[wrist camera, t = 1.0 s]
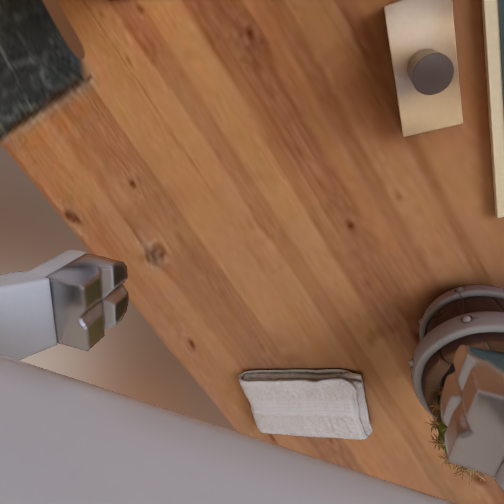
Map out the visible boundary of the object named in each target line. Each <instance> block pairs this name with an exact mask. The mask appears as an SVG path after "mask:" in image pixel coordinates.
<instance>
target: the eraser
mask: <svg viewBox="0 0 504 504" xmlns="http://www.w3.org/2000/svg"><path fill="white" fill-rule="evenodd" d="M383 9H384V15H385V22H386V28H387V35H388V42H389V48H390V55H391V61H392V68H393V75H394V81H395V88H396V95H397V101H398V108H399V114H400V121H401V128H402V133H403V137H407V136H411V135H416V134H420V133H424V132H429V131H433V130H437V129H441V128H446V127H450V126H454V125H459V124H462V123H463V117H462V106H461V95H460V84H459V73H458V62H457V51H456V40H455V29H454V18H453V7H452V0H399V1H396V2H394V3H391V4H388V5H385V6H384V7H383Z"/></svg>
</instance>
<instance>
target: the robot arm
mask: <svg viewBox="0 0 504 504" xmlns="http://www.w3.org/2000/svg"><path fill="white" fill-rule="evenodd" d="M127 278H128V274H127V266H126V265H125V264H124V262H122V261H118V260H114V259H110V258H107V257H103V256H99V255H95V254H91V253H88V252H84V251H79V250H74V249H69V250H67V251H65V252H63V253H61V254H60V255H58V256H56V257H54V258H52V259H50V260H48V261H46V262H45V263H43V264H41V265H39V266H37V267H35V268H33V269H31V270H29V271H28V272H22V271H18V272H12V273H6V274H1V275H0V504H456V503H453V502H450V501H447V500H444V499H441V498H438V497H434V496H431V495H428V494H425V493H422V492H419V491H416V490H413V489H410V488H407V487H404V486H401V485H398V484H395V483H392V482H389V481H386V480H382V479H379V478H376V477H373V476H370V475H367V474H364V473H361V472H358V471H355V470H352V469H349V468H346V467H343V466H340V465H337V464H334V463H330V462H327V461H324V460H321V459H318V458H315V457H312V456H309V455H306V454H303V453H300V452H297V451H294V450H291V449H288V448H285V447H282V446H278V445H275V444H272V443H269V442H266V441H263V440H260V439H257V438H254V437H251V436H248V435H245V434H242V433H239V432H236V431H233V430H229V429H226V428H223V427H220V426H217V425H214V424H211V423H208V422H205V421H202V420H199V419H195V418H193V417H190V416H187V415H184V414H180V413H178V412H174V411H171V410H168V409H165V408H162V407H159V406H156V405H153V404H150V403H147V402H144V401H141V400H138V399H135V398H132V397H129V396H126V395H123V394H120V393H116V392H113V391H110V390H107V389H104V388H101V387H98V386H95V385H92V384H89V383H86V382H83V381H80V380H77V379H74V378H71V377H68V376H65V375H62V374H58V373H55V372H52V371H49V370H46V369H43V368H40V367H37V366H34V365H31V364H28V363H25V362H22V361H19V360H21V359H24V358H26V357H28V356H31V355H33V354H36V353H38V352H41V351H43V350H45V349H47V348H50V347H52V346H55V345H57V343H59V344H63V345H67V346H70V347H74V348H78V349H81V350H85V351H88V350H89V349H90V348H92V347H93V346H94V345H95V344H96V343H97V342H98V341H99V340H100V339H101V338H103V337H104V330H105V329H107V328H111V327H114V326H116V325H117V324H118V323H119V322H120V321H121V320H122V318H123V316H124V314H125V313H126V310H127V306H128V301H129V300H128V292H127V290H126V288H125V287H124V285H123V283H124V282H125V281H126V280H127ZM453 362H454V367H455V372H453V373H451V374H450V375H448V376H447V377H446V380H445V383H444V386H443V389H442V395H441V405H440V410H441V418H442V420H443V421H444V422H445V423H446V425H447V426H448V427H447V430H446V432H445V435H444V438H445V444H446V450H447V456H448V462H451V463H454V464H457V465H460V466H463V467H466V468H469V469H472V470H475V471H478V472H481V473H484V474H487V475H490V476H493V477H495V481H496V482H497V483H498V485H499V486H500V487H501V489H502V490H503V491H504V354H503V353H498V352H494V351H489V350H485V349H480V348H476V347H471V346H467V345H460V346H459V348H458V349H457V351H456V354H455V356H454V359H453Z"/></svg>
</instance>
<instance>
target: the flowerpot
mask: <svg viewBox="0 0 504 504" xmlns="http://www.w3.org/2000/svg"><path fill="white" fill-rule="evenodd" d="M418 322H419V324H420V328H419V337H420V342H419V344H418V345H417V347H416V348H415V351H414V354H413V359H411V360H410V361H409V364H410V366H411V378H412V383H413V387H414V390H415V393H416V395H417V397H418V399H419V401H420V402H421V404H422V405H423V407H424V408H425V409H426V410H427V411H428V412H429V413H430V414H431V415H432V417H434V418H433V419H434V424H431V423H428V424H431V425H433V426H432V428H431V432H432V430H433V427H435V430H436V428H437V429H438V432H439V436H437V437H438V440H437V437H436V440H435V439H434V438H433V437H432V436H431V437H432V438H433V439H432V440H435V441H437V442H435V441H433V442H432V443H433V444H436V445H437V444H438V447H439V449H438V450H440V448H442V449H443V450H444V454H443V455H444V456H445V454H446V455H447V450H446V444H445V438H444V435H445V432H446V430H447V427H448V426H447V425H446V423H445V422H444V421H443V420H442V418H441V410H440V405H441V395H442V389H443V386H444V383H445V380H446V377H447V376H448V375H450V374H451V373H453V372H455V367H454V362H453V359H454V356H455V354H456V351H457V349H458V348H459V346H460V345H467V346H471V347H476V348H480V349H485V350H489V351H494V352H498V353H503V354H504V289H501V288H498V287H494V286H487V285H468V286H462V287H458V288H454V289H452V290H450V291H448V292H446V293H444V294H442V295H441V296H439V297H438V298H437V299H435V300H434V301H433V302H432V303H431V304H430V305H429V307H428V308H427V309H426V311H425V312H424V314H423V317H422V319H420V320H419V321H418ZM427 325H428V326H427ZM428 417H429V416H428ZM435 418H436V420H435ZM429 419H430V418H429ZM430 421H431V422H432V423H433V421H432V420H431V419H430ZM435 421H436V422H435ZM425 423H427V422H425ZM431 425H430V426H431ZM434 435H435V434H434ZM429 442H430V441H429ZM436 445H435V447H436ZM440 446H441V447H440ZM445 452H446V453H445ZM438 455H439V454H438ZM439 457H440V456H439ZM440 458H442V456H441V457H440ZM443 458H447V459H446V460H445V461H448V456H446V457H443ZM445 461H444V462H445ZM443 464H444V463H443ZM445 464H447V463H446V462H445ZM448 464H454V463H451V462H448ZM442 467H443V466H442ZM449 467H450V465H449ZM456 467H457V465H456V466H455V467H454V468H456ZM461 467H462V468H461ZM454 468H453V469H454ZM458 469H461V470H462V469H463V470H462V471H461V470H460V471H461V472H462V473H460V474H457V475H461V474H462V479H463V473H465V472H466V473H467V472H468V470H469V468H466V467H463V466H460V468H459V465H458ZM458 469H457V471H458ZM464 469H465V470H464ZM460 471H458V472H460ZM469 471H470V473H469V472H468V473H469V474H470V475H469V474H468V473H467V474H468V475H469V476H470V478H469V484H470V483H471V481H472V478H473V476H474V474H475V473H476V474H477V475H478V476H479V477H480V481H481V478H482V477H481V474H482V473H481V472H478V471H475V470H474V471H473V470H472V469H470V470H469ZM471 471H472V475H471ZM458 472H457V473H458ZM474 472H475V473H474ZM477 472H478V473H479V474H478V473H477ZM473 473H474V474H473ZM480 473H481V474H480ZM454 474H456V473H454ZM476 474H475V475H476ZM483 474H484V473H483ZM483 474H482V475H483ZM457 475H454V476H457ZM486 475H487V474H486ZM483 476H484V475H483ZM482 479H483V478H482ZM483 480H485V479H483ZM485 481H486V480H485ZM486 482H487V481H486Z"/></svg>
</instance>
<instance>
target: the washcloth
mask: <svg viewBox="0 0 504 504" xmlns="http://www.w3.org/2000/svg"><path fill="white" fill-rule="evenodd" d="M239 382H240V384H241V387H242V388H243V391H244V393H245V395H246V396H247V398H248V399H249V402H250V404H251V406H252V407H251V411H252V414H253V416H254V419H255V422H256V425H257V427H258V429H259V431H261V432H263V433H271V434H286V435H288V434H289V435H298V436H307V437H308V436H313V437H332V438H346V439H359V440H360V439H361V440H362V439H367V438H368V435H369V434H371V433H372V430H373V429H371V428H372V427H371V426H370V423H369V414H368V408H367V404H366V399H365V393H364V386H363V382H362V378H361V375H360V374H355V373H352V372H350V371H347V370H342V369H323V370H306V369H305V370H304V369H290V370H251V371H246V372H243V373H241V374H240V375H239Z"/></svg>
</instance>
